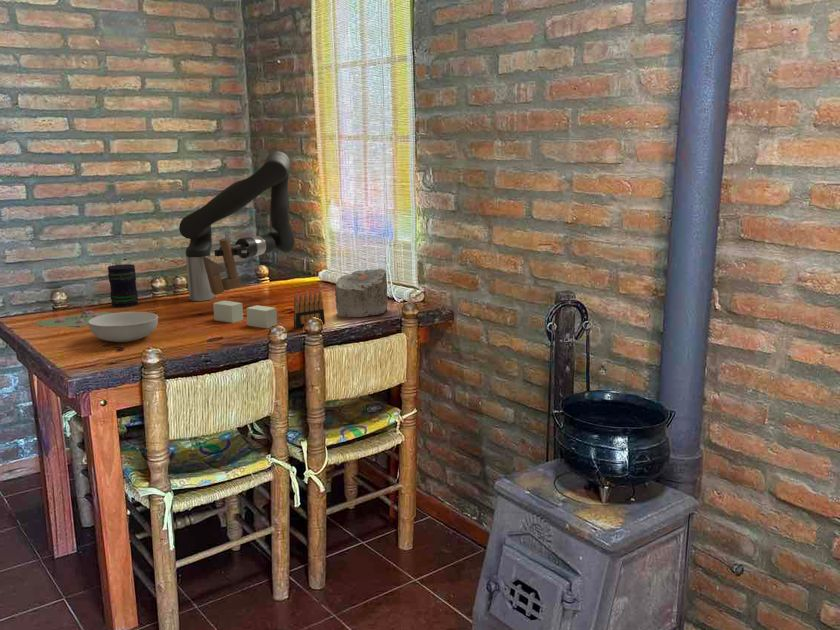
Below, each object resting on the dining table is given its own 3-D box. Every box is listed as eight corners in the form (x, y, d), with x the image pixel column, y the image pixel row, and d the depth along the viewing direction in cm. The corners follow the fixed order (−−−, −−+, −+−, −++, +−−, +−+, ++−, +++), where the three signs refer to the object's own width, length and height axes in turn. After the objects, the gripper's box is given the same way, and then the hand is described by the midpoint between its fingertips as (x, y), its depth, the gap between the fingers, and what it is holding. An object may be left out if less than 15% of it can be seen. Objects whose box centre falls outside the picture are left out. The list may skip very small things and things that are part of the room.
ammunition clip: (322, 322, 272) (321, 288, 269) (325, 323, 270) (323, 289, 267) (293, 327, 266) (291, 292, 263) (296, 328, 264) (294, 292, 262)
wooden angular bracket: (211, 293, 287) (199, 245, 280) (238, 283, 292) (226, 237, 286) (215, 295, 284) (203, 247, 277) (242, 285, 290) (231, 238, 283)
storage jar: (106, 305, 304) (101, 259, 300) (128, 301, 312) (123, 255, 307) (122, 308, 298) (117, 261, 294) (144, 303, 306) (139, 257, 302)
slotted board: (225, 317, 282) (223, 300, 281) (277, 325, 269) (276, 308, 267) (214, 319, 278) (213, 303, 277) (266, 328, 265) (265, 310, 263)
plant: (37, 333, 266) (34, 306, 264) (32, 321, 284) (29, 296, 281) (116, 323, 278) (113, 298, 276) (106, 312, 296) (104, 288, 293)
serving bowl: (159, 344, 248) (157, 322, 246) (87, 350, 242) (84, 328, 240) (160, 328, 267) (158, 308, 266) (93, 334, 261) (91, 313, 260)
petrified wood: (335, 319, 276) (333, 276, 273) (336, 308, 293) (334, 268, 290) (389, 317, 278) (388, 275, 274) (387, 306, 295) (386, 266, 291)
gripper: (237, 235, 299) (202, 241, 285) (263, 238, 292) (228, 244, 278) (238, 255, 301) (203, 262, 287) (264, 258, 294) (229, 265, 280)
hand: (216, 253), depth 283 cm, fingers closed
